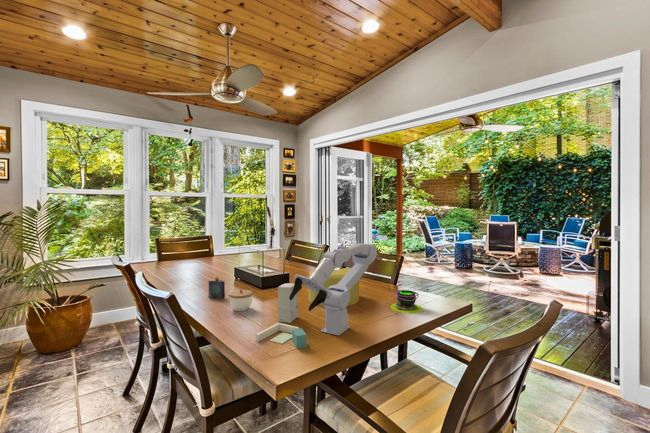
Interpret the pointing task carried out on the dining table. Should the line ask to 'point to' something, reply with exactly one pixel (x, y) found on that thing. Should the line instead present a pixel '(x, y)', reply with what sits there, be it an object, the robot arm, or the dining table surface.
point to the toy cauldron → (406, 302)
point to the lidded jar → (240, 299)
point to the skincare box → (286, 303)
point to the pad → (282, 338)
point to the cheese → (334, 280)
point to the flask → (216, 288)
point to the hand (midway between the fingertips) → (299, 303)
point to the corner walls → (274, 330)
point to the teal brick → (299, 338)
